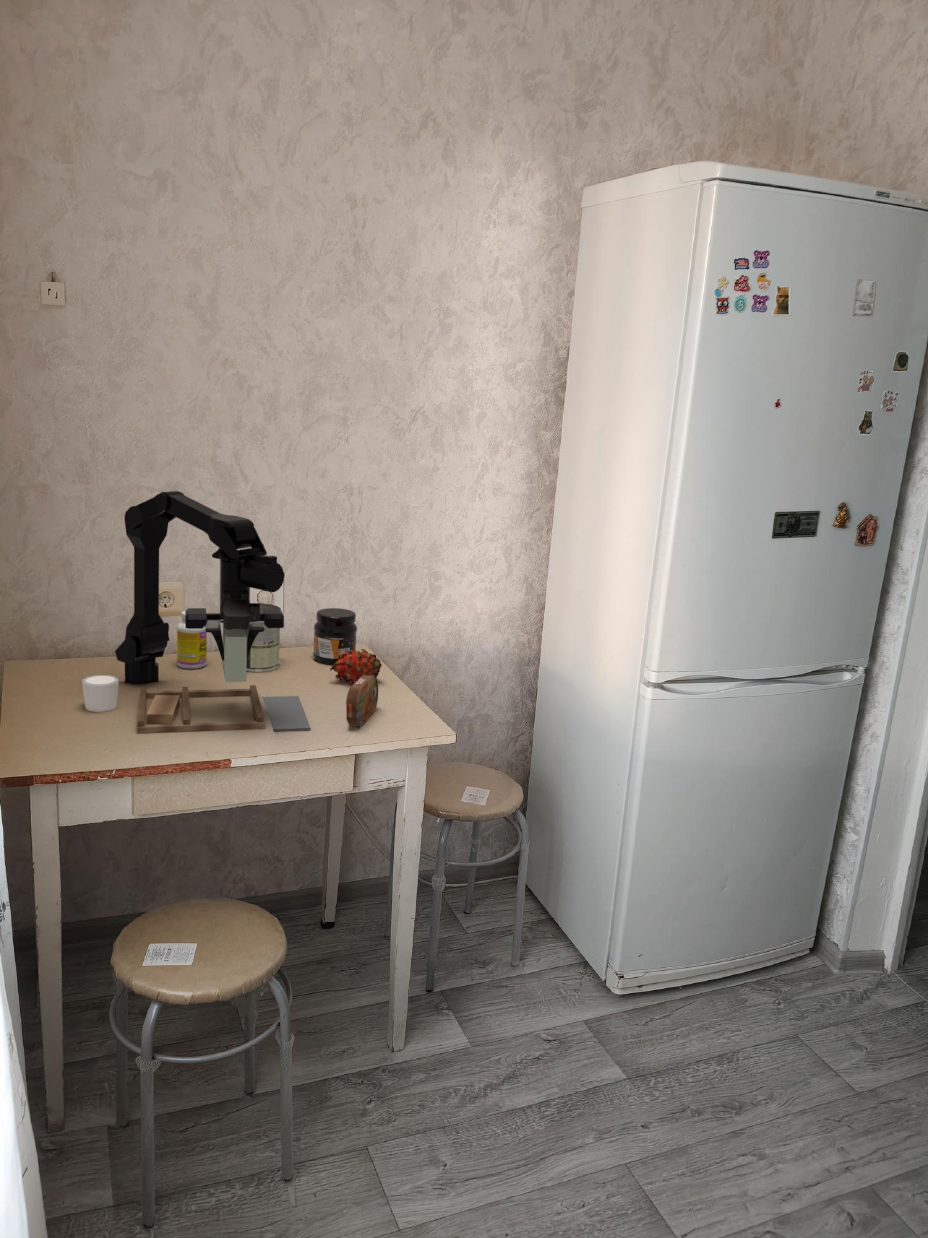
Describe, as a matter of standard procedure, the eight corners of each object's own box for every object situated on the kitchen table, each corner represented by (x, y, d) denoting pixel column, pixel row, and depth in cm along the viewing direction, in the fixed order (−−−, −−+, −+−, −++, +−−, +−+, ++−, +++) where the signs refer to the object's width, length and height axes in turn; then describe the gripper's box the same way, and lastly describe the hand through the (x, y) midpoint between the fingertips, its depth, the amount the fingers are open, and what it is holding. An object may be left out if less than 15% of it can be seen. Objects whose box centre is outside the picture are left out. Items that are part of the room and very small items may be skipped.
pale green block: (225, 681, 183) (225, 637, 181) (222, 663, 194) (222, 621, 192) (246, 681, 184) (246, 636, 182) (242, 663, 195) (243, 620, 193)
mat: (267, 731, 185) (267, 729, 185) (258, 699, 203) (258, 696, 203) (310, 730, 188) (310, 728, 188) (298, 698, 205) (298, 695, 205)
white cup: (126, 711, 191) (126, 677, 189) (103, 721, 184) (103, 687, 183) (98, 704, 193) (98, 672, 191) (75, 715, 186) (74, 681, 185)
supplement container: (319, 667, 228) (321, 619, 225) (307, 654, 237) (309, 608, 234) (361, 664, 232) (363, 617, 229) (348, 652, 241) (350, 606, 238)
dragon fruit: (384, 689, 220) (333, 697, 217) (378, 660, 225) (327, 667, 222) (385, 668, 213) (332, 676, 211) (378, 638, 218) (326, 646, 216)
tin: (357, 732, 189) (359, 692, 187) (342, 730, 190) (344, 690, 187) (378, 708, 203) (380, 671, 201) (364, 706, 204) (366, 669, 202)
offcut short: (146, 724, 181) (146, 714, 181) (155, 704, 192) (155, 695, 191) (172, 724, 182) (172, 714, 182) (179, 704, 193) (179, 695, 192)
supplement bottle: (201, 670, 218) (202, 617, 215) (173, 668, 218) (173, 614, 215) (209, 662, 225) (210, 610, 222) (182, 660, 225) (182, 607, 222)
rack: (137, 740, 177) (137, 722, 176) (140, 702, 196) (140, 686, 195) (265, 735, 184) (265, 718, 183) (256, 699, 202) (256, 684, 202)
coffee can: (228, 669, 221) (229, 611, 217) (244, 657, 231) (245, 601, 227) (271, 674, 220) (272, 615, 216) (285, 662, 229) (286, 605, 226)
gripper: (185, 592, 175) (185, 673, 178) (287, 593, 180) (285, 671, 184) (185, 579, 185) (185, 656, 189) (281, 580, 190) (280, 654, 194)
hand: (234, 659), depth 188 cm, fingers closed on pale green block, 4 cm apart
